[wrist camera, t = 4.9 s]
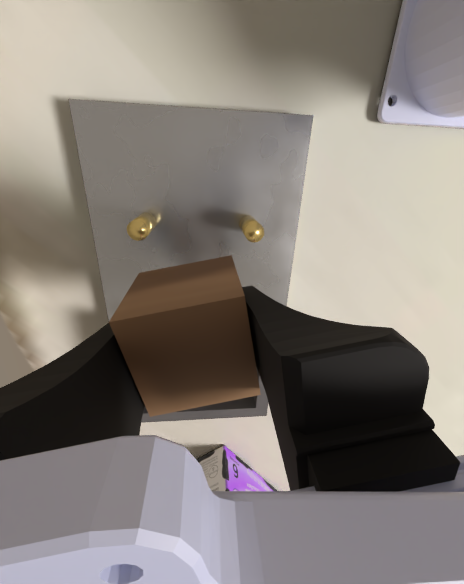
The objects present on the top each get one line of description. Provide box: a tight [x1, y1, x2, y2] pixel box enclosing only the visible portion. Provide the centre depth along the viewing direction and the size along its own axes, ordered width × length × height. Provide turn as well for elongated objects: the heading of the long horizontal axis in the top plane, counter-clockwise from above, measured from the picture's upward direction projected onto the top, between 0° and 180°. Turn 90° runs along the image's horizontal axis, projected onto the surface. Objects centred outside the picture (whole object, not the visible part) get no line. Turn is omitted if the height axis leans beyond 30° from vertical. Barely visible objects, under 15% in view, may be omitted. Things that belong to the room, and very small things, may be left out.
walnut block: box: [109, 255, 261, 417], centre depth 10 cm, size 4×4×4 cm
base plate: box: [69, 99, 313, 321], centre depth 17 cm, size 19×12×4 cm, turn 178°
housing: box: [141, 367, 268, 422], centre depth 18 cm, size 6×9×3 cm, turn 88°
